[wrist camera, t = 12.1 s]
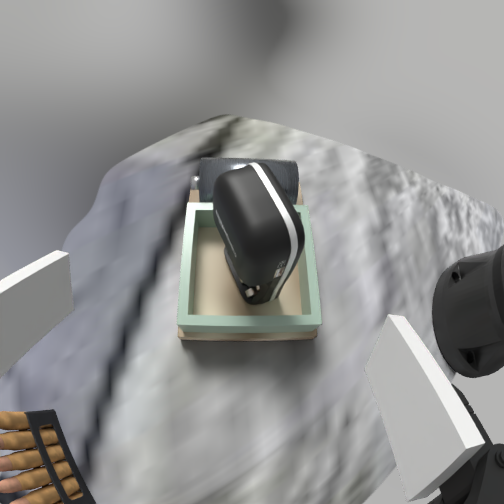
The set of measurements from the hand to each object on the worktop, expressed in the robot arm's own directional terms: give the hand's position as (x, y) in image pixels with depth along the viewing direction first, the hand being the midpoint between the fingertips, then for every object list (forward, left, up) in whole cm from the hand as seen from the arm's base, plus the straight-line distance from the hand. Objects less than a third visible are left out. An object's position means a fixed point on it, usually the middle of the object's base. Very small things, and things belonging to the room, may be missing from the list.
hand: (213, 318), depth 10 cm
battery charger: (-2, -7, -14) cm, 16 cm away
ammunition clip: (+16, +12, -16) cm, 26 cm away
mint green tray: (-2, -10, -15) cm, 18 cm away
